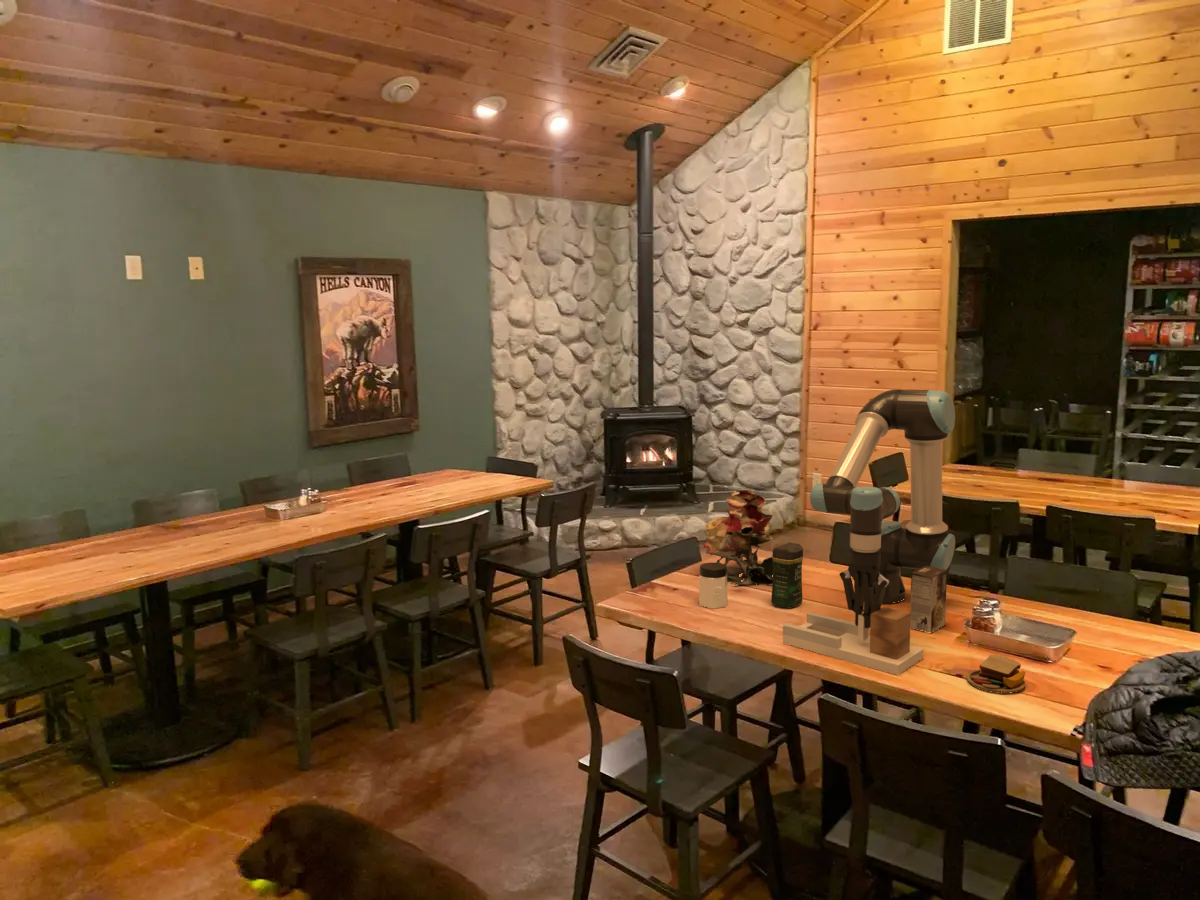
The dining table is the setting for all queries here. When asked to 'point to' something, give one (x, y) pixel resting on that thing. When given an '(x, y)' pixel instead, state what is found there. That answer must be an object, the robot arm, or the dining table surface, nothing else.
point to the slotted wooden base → (844, 643)
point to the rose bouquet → (741, 537)
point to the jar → (713, 585)
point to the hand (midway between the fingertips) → (863, 638)
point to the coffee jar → (787, 575)
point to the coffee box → (928, 598)
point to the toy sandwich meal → (998, 675)
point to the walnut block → (890, 633)
